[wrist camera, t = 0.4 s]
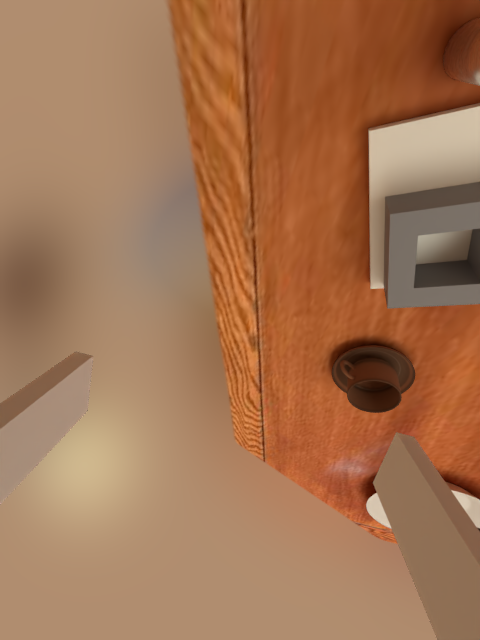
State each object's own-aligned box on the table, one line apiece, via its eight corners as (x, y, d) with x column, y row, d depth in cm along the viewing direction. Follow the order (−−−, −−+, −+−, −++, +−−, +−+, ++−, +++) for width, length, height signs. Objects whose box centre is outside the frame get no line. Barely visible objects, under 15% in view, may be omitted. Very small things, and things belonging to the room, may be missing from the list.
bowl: (431, 531, 81) (434, 548, 78) (344, 492, 79) (344, 507, 76) (525, 505, 64) (533, 524, 61) (417, 454, 62) (421, 472, 60)
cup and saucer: (321, 377, 56) (319, 406, 51) (350, 328, 48) (350, 358, 43) (389, 399, 55) (393, 430, 50) (429, 353, 47) (438, 386, 42)
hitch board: (368, 128, 32) (372, 141, 27) (547, 87, 27) (592, 94, 22) (370, 282, 42) (373, 312, 37) (499, 272, 37) (522, 305, 32)
